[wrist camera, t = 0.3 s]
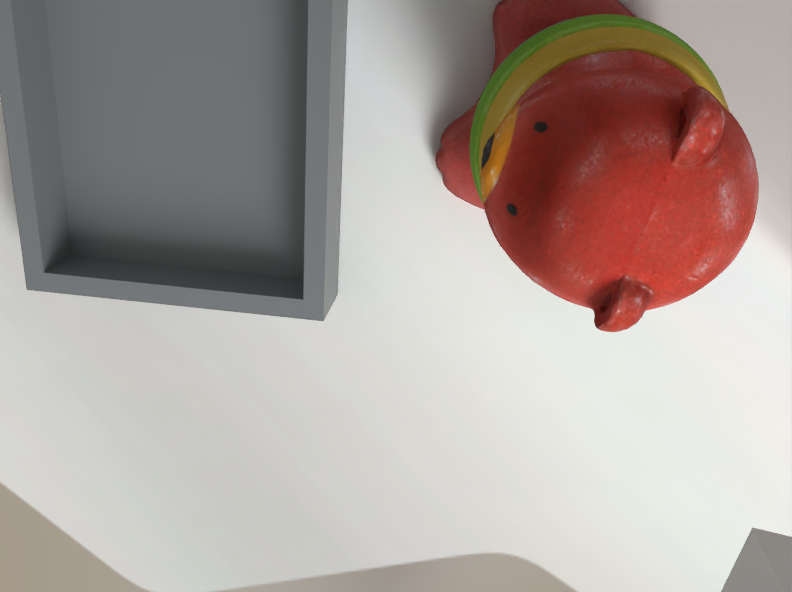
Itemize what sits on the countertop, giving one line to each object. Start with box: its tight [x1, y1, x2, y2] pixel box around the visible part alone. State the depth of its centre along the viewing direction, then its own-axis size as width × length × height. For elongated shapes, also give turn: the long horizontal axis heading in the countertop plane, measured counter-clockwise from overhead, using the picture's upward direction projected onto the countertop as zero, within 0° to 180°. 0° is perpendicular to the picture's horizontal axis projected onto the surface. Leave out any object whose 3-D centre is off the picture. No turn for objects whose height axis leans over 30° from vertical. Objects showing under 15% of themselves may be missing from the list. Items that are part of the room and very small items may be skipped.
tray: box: [0, 0, 348, 321], centre depth 34 cm, size 22×15×4 cm
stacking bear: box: [436, 0, 759, 332], centre depth 26 cm, size 11×10×18 cm
